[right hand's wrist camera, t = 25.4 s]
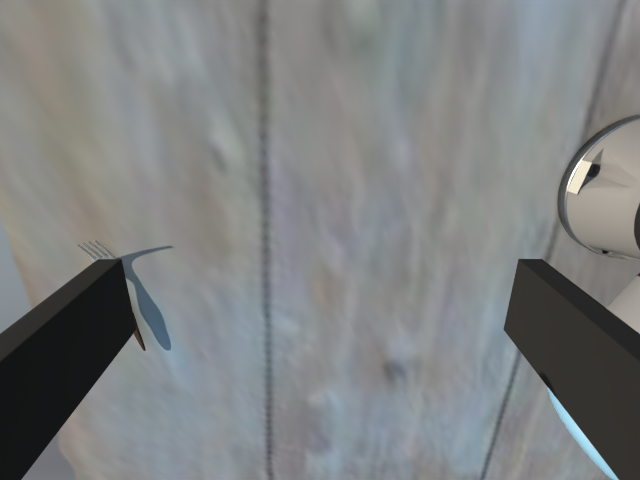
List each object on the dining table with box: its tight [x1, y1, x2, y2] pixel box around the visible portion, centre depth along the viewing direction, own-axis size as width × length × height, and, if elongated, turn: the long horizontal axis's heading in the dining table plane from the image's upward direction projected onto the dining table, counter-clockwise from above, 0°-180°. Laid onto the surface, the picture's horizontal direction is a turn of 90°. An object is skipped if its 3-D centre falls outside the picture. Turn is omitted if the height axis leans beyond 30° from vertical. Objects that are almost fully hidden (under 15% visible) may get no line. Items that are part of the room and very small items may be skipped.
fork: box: [76, 240, 145, 351], centre depth 45 cm, size 3×16×2 cm, turn 11°
